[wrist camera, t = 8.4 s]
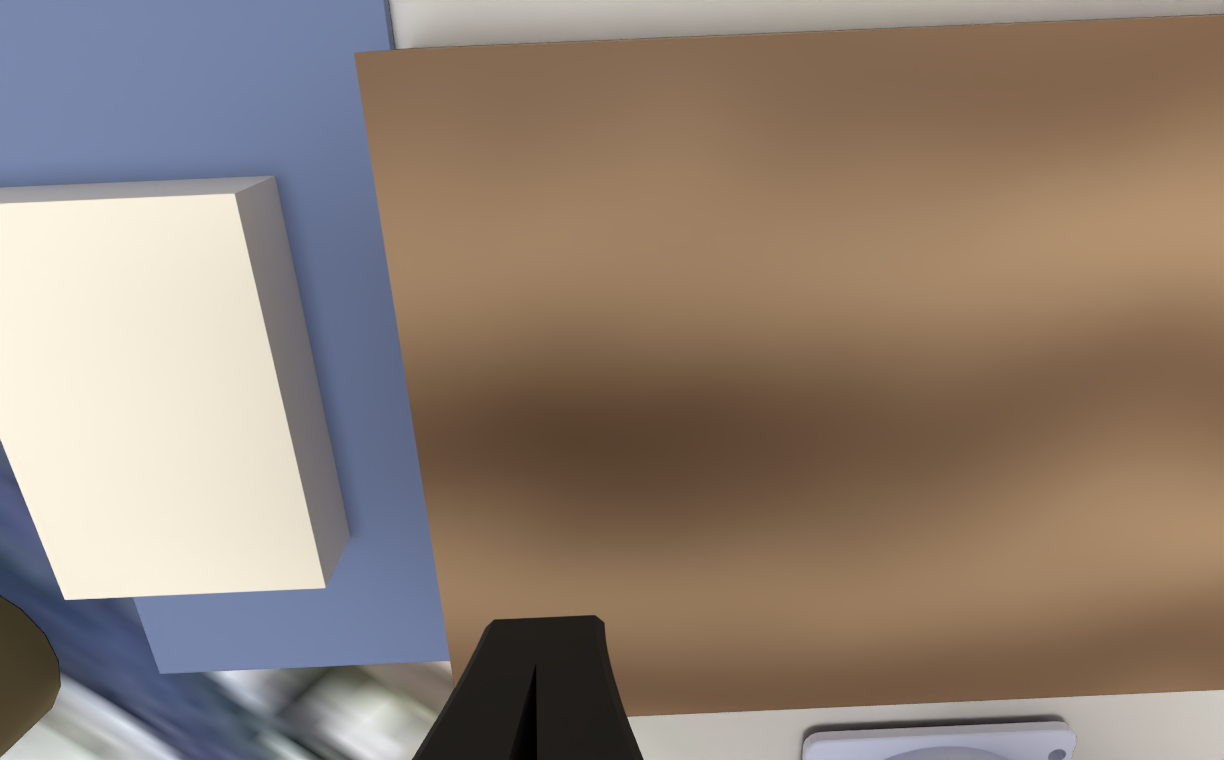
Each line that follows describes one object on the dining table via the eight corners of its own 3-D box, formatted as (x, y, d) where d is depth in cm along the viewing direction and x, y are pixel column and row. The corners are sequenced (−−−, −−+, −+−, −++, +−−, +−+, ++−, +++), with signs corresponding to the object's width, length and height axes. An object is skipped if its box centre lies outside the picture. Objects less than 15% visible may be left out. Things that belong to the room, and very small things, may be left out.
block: (64, 599, 18) (113, 547, 20) (325, 587, 18) (350, 537, 20) (-93, 207, 14) (-15, 188, 16) (234, 193, 14) (275, 175, 16)
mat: (478, 649, 22) (476, 659, 22) (167, 663, 22) (160, 673, 22) (382, -36, 15) (378, -38, 15) (-70, -17, 15) (-87, -19, 15)
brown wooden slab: (1141, 576, 21) (1254, 688, 18) (483, 605, 21) (460, 724, 18) (1305, 10, 16) (1520, 3, 12) (409, 48, 16) (354, 53, 12)
